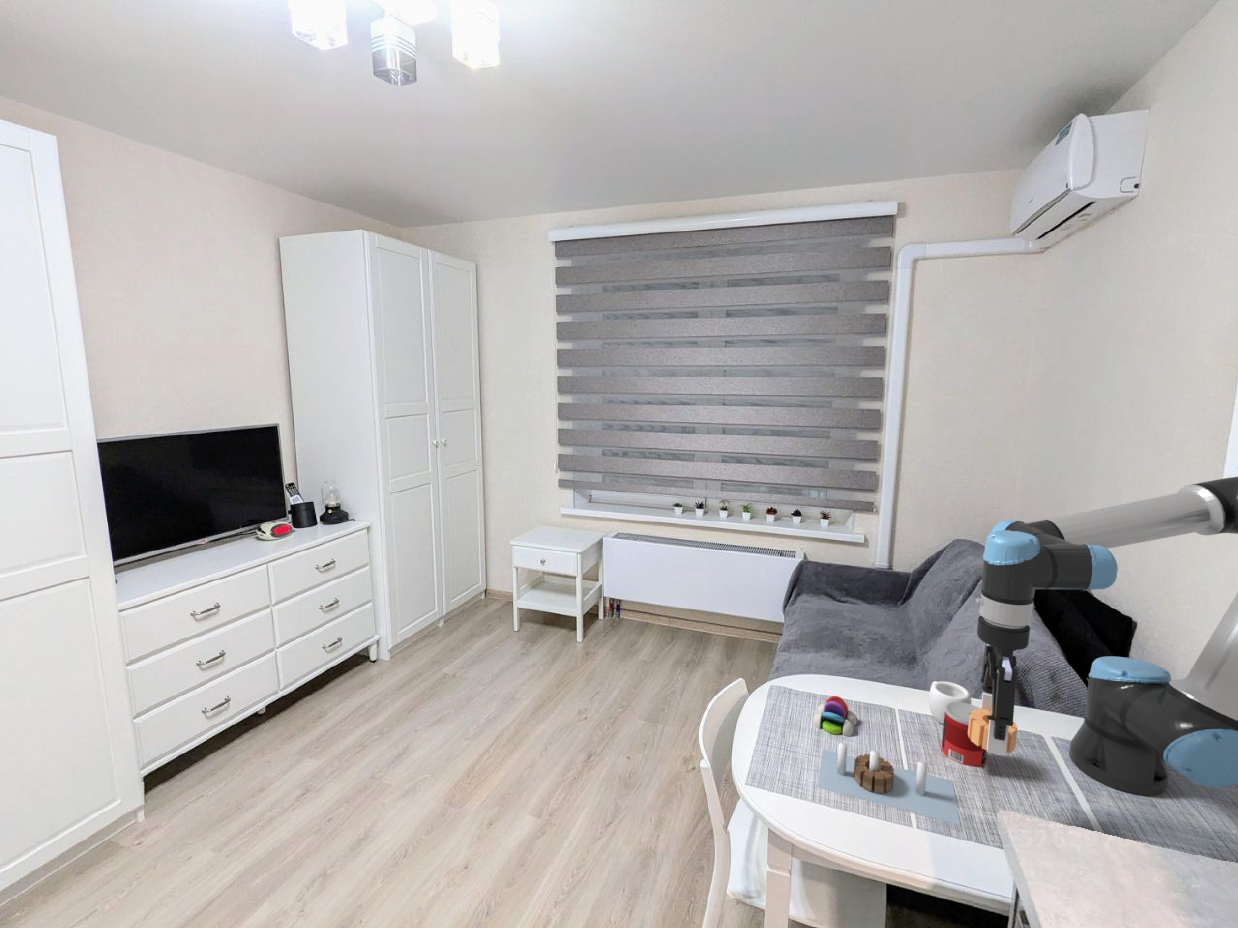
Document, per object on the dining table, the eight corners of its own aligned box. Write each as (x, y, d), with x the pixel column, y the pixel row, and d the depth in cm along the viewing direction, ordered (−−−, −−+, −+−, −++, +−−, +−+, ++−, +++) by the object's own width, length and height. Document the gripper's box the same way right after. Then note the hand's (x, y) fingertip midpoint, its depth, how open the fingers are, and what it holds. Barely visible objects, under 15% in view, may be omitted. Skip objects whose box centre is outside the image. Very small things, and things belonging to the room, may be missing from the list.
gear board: (952, 787, 112) (955, 753, 110) (959, 832, 101) (963, 795, 100) (822, 755, 121) (824, 723, 120) (817, 793, 111) (818, 758, 109)
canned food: (991, 775, 115) (996, 725, 113) (948, 770, 117) (952, 721, 115) (976, 750, 122) (981, 703, 121) (935, 746, 124) (939, 699, 122)
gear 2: (1009, 733, 105) (1012, 714, 104) (1018, 758, 98) (1020, 737, 98) (965, 724, 108) (967, 705, 107) (971, 747, 101) (973, 726, 100)
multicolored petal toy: (858, 723, 132) (859, 694, 131) (849, 746, 124) (851, 716, 123) (820, 712, 137) (821, 684, 136) (810, 734, 129) (811, 704, 128)
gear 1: (892, 772, 114) (893, 759, 113) (893, 797, 107) (894, 783, 107) (854, 763, 116) (855, 750, 116) (853, 786, 110) (853, 772, 110)
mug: (977, 731, 129) (980, 699, 127) (940, 731, 129) (942, 700, 127) (947, 701, 141) (950, 671, 139) (913, 701, 141) (915, 671, 139)
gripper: (970, 595, 110) (960, 704, 113) (988, 641, 92) (976, 769, 95) (1017, 601, 107) (1005, 713, 110) (1045, 649, 88) (1030, 781, 92)
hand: (991, 739), depth 103 cm, fingers closed on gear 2, 7 cm apart
